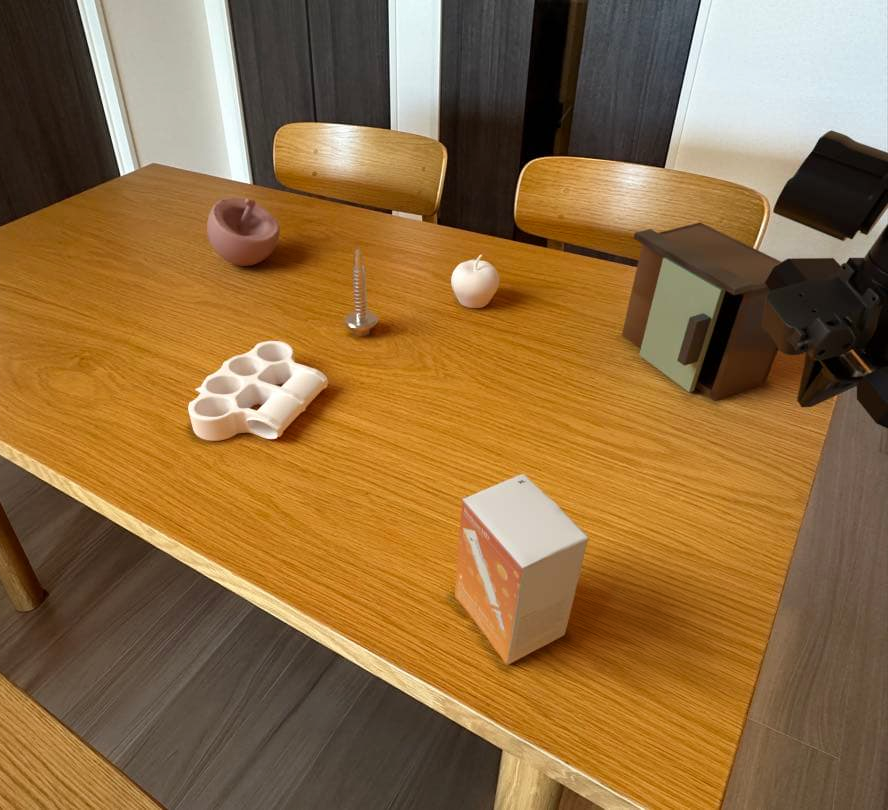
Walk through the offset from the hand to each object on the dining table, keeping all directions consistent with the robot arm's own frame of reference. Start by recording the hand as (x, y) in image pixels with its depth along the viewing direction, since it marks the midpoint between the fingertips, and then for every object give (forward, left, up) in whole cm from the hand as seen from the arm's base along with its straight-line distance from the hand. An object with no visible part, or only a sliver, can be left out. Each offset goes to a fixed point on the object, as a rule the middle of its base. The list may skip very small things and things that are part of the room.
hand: (803, 404), depth 64 cm
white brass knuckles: (+58, -1, -12) cm, 59 cm away
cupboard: (+7, -23, -12) cm, 27 cm away
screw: (+50, -20, -12) cm, 55 cm away
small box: (+23, +22, -12) cm, 34 cm away
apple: (+36, -32, -12) cm, 49 cm away
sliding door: (+10, -18, -11) cm, 24 cm away
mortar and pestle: (+76, -37, -12) cm, 85 cm away
